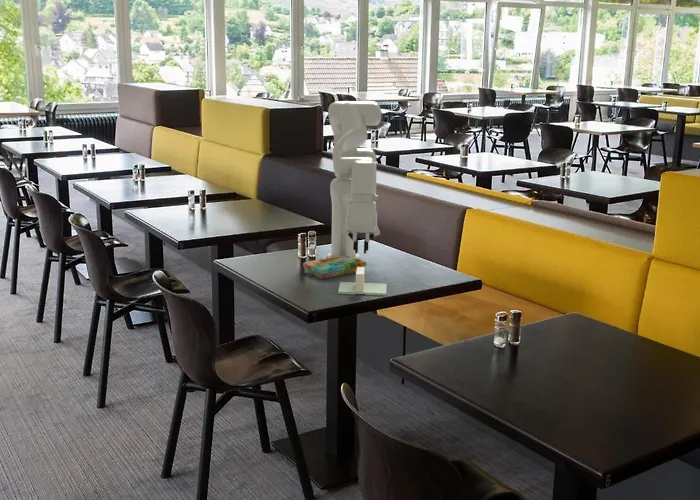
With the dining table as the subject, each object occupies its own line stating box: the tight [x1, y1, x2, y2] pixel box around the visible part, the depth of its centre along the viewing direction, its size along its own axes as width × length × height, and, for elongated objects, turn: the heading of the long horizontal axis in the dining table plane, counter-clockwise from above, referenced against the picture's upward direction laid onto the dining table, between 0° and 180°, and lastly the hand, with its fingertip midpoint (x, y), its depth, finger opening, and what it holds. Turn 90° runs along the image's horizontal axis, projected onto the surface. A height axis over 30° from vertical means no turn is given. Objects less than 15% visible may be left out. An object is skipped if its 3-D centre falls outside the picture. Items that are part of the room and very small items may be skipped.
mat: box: [337, 281, 388, 297], centre depth 267 cm, size 11×16×1 cm
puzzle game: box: [302, 255, 368, 279], centre depth 287 cm, size 12×5×20 cm
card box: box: [355, 266, 366, 292], centre depth 266 cm, size 9×3×6 cm, turn 177°
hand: (360, 252), depth 264 cm, fingers closed
